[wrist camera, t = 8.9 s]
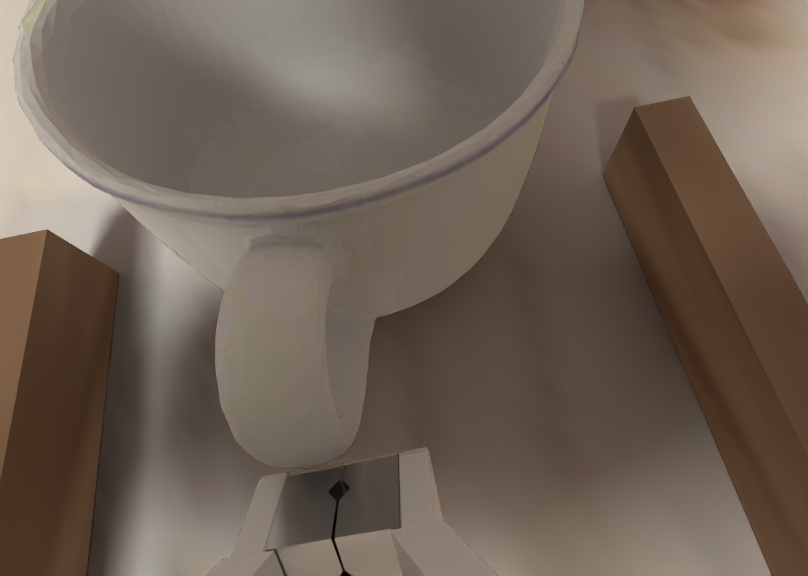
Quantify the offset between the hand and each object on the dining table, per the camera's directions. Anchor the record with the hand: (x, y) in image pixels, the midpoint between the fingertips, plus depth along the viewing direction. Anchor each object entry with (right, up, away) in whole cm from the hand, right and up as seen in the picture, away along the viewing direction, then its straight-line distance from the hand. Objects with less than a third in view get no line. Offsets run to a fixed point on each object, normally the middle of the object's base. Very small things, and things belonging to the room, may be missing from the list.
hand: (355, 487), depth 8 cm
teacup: (-1, +5, +7) cm, 9 cm away
